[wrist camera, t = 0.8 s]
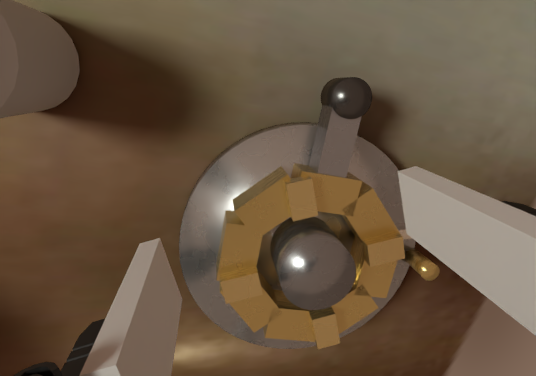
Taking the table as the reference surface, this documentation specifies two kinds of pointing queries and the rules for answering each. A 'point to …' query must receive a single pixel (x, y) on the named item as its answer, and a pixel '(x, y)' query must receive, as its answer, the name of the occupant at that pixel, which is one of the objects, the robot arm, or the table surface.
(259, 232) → the ring nut
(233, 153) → the cap base
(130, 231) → the table surface
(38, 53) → the can
